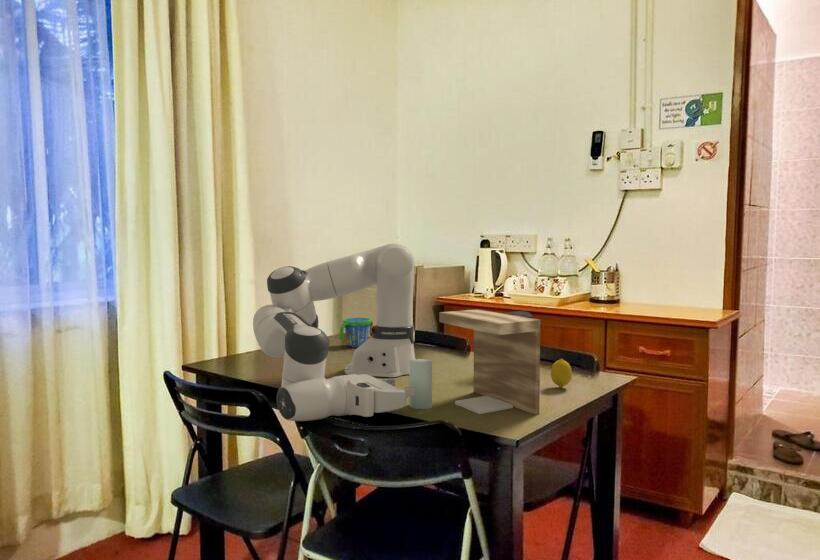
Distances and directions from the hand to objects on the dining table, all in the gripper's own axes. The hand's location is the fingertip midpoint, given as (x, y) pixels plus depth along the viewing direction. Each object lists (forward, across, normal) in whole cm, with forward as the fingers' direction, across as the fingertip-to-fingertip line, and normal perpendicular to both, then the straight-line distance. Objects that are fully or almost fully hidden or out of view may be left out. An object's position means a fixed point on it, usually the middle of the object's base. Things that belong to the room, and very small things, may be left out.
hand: (403, 386), depth 145 cm
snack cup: (+28, -82, -6) cm, 87 cm away
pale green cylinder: (+5, 0, -6) cm, 8 cm away
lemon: (+47, +4, -6) cm, 48 cm away
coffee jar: (+50, -17, -6) cm, 53 cm away
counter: (+19, +8, -5) cm, 21 cm away
